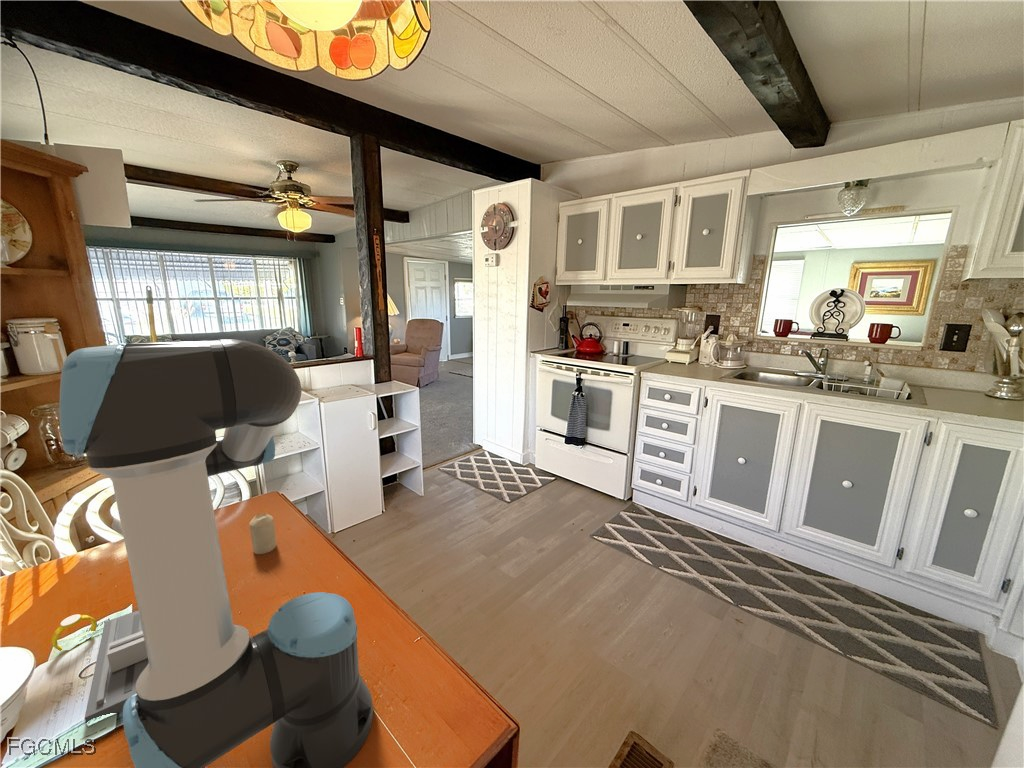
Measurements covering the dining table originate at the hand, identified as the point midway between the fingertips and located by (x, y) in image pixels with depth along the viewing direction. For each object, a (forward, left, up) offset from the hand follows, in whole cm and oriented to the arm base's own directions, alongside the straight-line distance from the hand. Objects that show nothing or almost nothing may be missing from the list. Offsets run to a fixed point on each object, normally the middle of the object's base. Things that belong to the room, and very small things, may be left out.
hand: (184, 587), depth 89 cm
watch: (-1, +17, -4) cm, 17 cm away
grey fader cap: (-15, +8, -1) cm, 17 cm away
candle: (+11, -17, -4) cm, 21 cm away
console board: (-12, +4, -4) cm, 13 cm away
